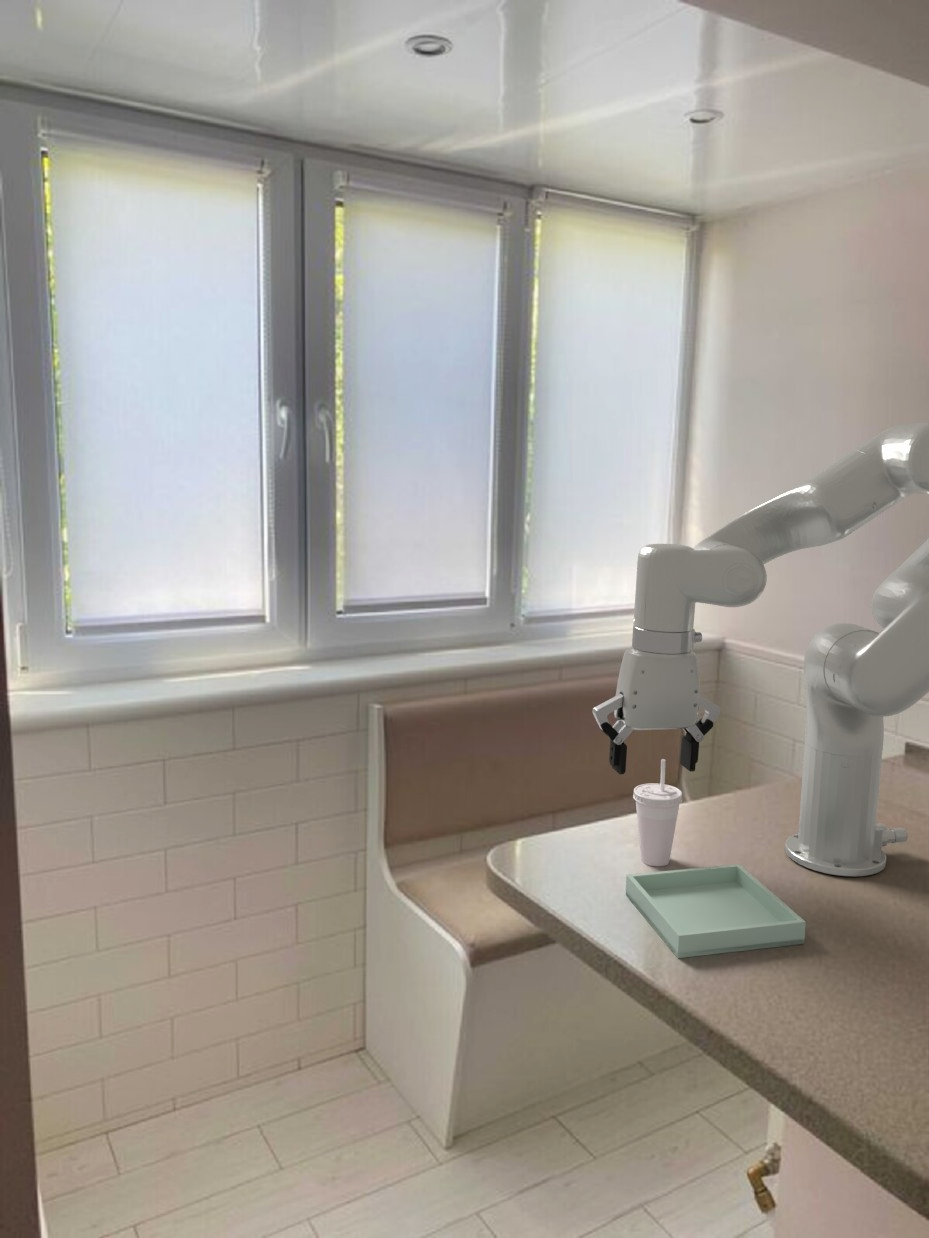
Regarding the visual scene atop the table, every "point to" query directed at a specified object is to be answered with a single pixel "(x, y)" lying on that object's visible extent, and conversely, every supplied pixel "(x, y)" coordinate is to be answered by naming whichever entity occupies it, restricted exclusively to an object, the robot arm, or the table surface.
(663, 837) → the smoothie
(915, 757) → the table surface
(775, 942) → the tray
